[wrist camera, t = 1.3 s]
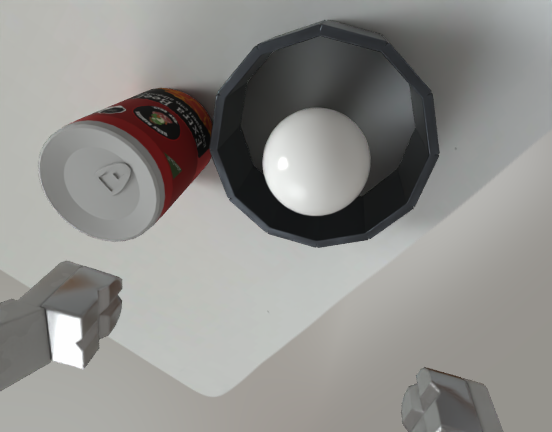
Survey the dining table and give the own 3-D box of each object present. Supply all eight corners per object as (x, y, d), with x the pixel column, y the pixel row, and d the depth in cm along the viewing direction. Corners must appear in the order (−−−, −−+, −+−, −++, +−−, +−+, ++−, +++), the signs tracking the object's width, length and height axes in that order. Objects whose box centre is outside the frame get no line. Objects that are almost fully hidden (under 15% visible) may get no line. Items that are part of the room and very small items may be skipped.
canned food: (235, 128, 31) (184, 183, 21) (186, 193, 35) (123, 264, 25) (157, 63, 29) (64, 91, 20) (114, 138, 33) (19, 192, 24)
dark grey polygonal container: (456, 53, 26) (482, 66, 20) (380, 226, 33) (385, 268, 28) (253, 0, 26) (229, -1, 21) (223, 181, 33) (199, 214, 28)
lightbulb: (321, 64, 27) (304, 97, 18) (384, 122, 28) (400, 182, 19) (267, 129, 30) (229, 187, 21) (326, 179, 32) (315, 255, 22)
